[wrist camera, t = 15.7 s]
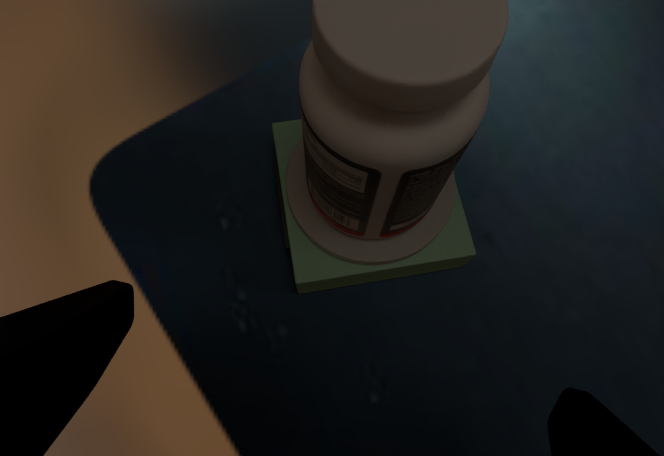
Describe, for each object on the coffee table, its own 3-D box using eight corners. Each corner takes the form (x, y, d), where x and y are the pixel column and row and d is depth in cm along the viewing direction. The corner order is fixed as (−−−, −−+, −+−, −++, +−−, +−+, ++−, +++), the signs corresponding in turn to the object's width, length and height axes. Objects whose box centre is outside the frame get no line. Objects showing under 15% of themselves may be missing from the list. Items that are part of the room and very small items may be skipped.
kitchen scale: (293, 295, 21) (289, 282, 18) (271, 146, 24) (266, 116, 21) (462, 267, 22) (481, 250, 19) (422, 125, 24) (435, 93, 22)
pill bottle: (427, 125, 21) (514, -86, 12) (441, 241, 19) (558, 101, 10) (304, 127, 21) (291, -86, 11) (306, 244, 19) (293, 105, 9)
